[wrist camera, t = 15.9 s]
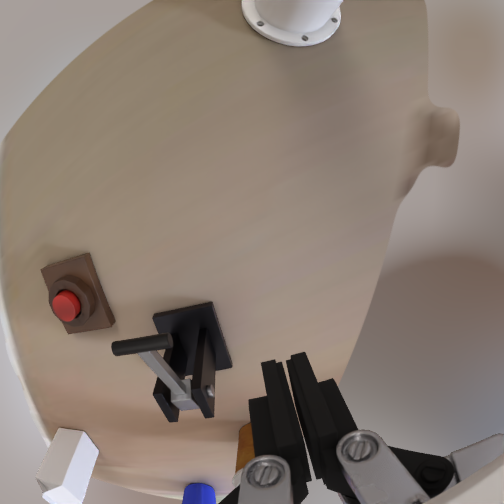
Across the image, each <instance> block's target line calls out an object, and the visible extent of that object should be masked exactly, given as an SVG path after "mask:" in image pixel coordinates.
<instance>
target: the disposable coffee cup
mask: <svg viewBox="0 0 504 504" xmlns="http://www.w3.org/2000/svg"><path fill="white" fill-rule="evenodd" d="M254 458H255V455H254V446H253V438H252V429H251V423H249V424H247V425H245V426H243V427H242V428H241V429H240V432H239V442H238V452H237V462H236V472H235V475H234V477H233V480H232V483H233V485H234V486H235V487H237V486H238V485H239V484H240V482H241V474H242V470H243V468H244V467H245V465H246V464H247V463H248V462H249V461H250V460H252V459H254Z"/></svg>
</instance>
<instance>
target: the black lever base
mask: <svg viewBox="0 0 504 504" xmlns="http://www.w3.org/2000/svg"><path fill="white" fill-rule="evenodd" d="M152 319H153V321H154V324H155V326H156V328H157V331H158V333H159V334H162V333H170V334H171V336H172V339H173V347H172V348H168V349H165V353H164V357H163V359H164V360H165V362H166V363H167V364H168V365H169V366H170V368H171V369H172V370H173V371H174V372H175V374H176V375H177V376H178V377H179V378H180V380H183V379H185V376H188V375H193V377H192V384H191V391H192V393H193V395H194V397H195V399H196V401H197V403H198V405H199V407H200V409H201V411H202V413H203V415H204V417H205V418H212V417H214V401H215V371H217V370H223V369H228V368H232V361H231V358H230V355H229V352H228V349H227V346H226V343H225V340H224V337H223V334H222V330H221V327H220V324H219V321H218V318H217V315H216V312H215V308H214V305H213V302H208V303H203V304H199V305H194V306H190V307H185V308H180V309H175V310H171V311H166V312H161V313H156V314H154V315H153V318H152ZM153 396H154V398H155V399H156V401H157V403H158V405H159V406H160V408H161V410H162V411H163V413H164V415H165V416H166V418H167V419H168V421H169V422H178V417H179V410H180V409H179V408H178V407H176V406H175V405H174V404H173V403H172V402H171V389H170V388H169V387H168V386H167V385H166V384H165V383H164V382H163V381H162V380H161V379H160V378H159V377H157V381H156V384H155V388H154V391H153Z"/></svg>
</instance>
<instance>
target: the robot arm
mask: <svg viewBox="0 0 504 504" xmlns="http://www.w3.org/2000/svg"><path fill="white" fill-rule="evenodd" d="M342 2H343V0H242V2H241V5H242V12H243V15H244V17H245V19H246V20H247V22H248V23H249V24H250V26H251V27H252V28H253V29H254V30H256V31H257V32H258V33H259V34H261V35H263V36H264V37H266V38H268V39H270V40H273V41H275V42H278V43H281V44H285V45H291V46H310V45H315V44H318V43H321V42H323V41H325V40H326V39H328V38H329V37H330V36H331V35H332V34H333V33H334V32H335V31H336V29H337V28H338V26H339V24H340V19H341V13H340V8H339V5H340V4H341V3H342ZM261 26H262V27H261ZM302 39H303V40H305V41H303V40H302ZM286 363H287V368H288V373H289V377H290V382H291V387H292V392H293V397H294V401H295V406H296V410H297V414H298V417H297V414H296V410H295V407H294V403H293V400H292V396H291V393H290V389H289V386H288V382H287V379H286V375H285V372H284V368H283V365H282V362H278V363H276V361H275V360H270V361H266V362H262V363H261V366H262V371H263V377H264V382H265V388H266V393H267V396H264V397H259V398H254V399H249V411H250V420H251V429H252V438H253V446H254V455H255V458H254V459H252V460H250V461H249V462H248V463H247V464H246V465H245V467H244V468H243V470H242V474H241V482H240V484H239V485H238V486H237V487H236V488H235V489H234V490H233V491H232V492H231V493H230V494H229V495H227V496H226V497H225V498H224V499H223V500H222V501H221V502H220V503H219V504H301V502H302V501H303V500H304V499H305V498H306V496H307V495H308V488H307V485H306V482H309V481H312V479H311V474H310V469H309V464H308V459H307V453H306V448H305V443H304V440H303V435H304V438H305V442H306V445H307V449H308V452H309V455H310V459H311V462H312V466H313V470H314V473H315V476H316V479H321V478H322V479H323V482H324V484H326V486H327V489H330V490H332V491H335V492H337V493H338V495H339V497H340V499H341V501H342V502H343V504H504V434H495V435H492V436H491V437H488V438H486V439H484V440H481V441H479V442H477V443H474V444H472V445H469V446H467V447H464V448H462V449H459V450H456V451H454V452H451V454H450V455H448V456H445V457H441V456H436V455H430V454H424V453H419V452H413V451H408V450H404V449H399V448H394V447H390V446H387V444H386V443H385V442H384V441H383V439H382V438H381V437H380V436H379V435H378V434H377V433H375V432H372V431H370V430H358V428H357V426H356V424H355V422H354V420H353V418H352V415H351V413H350V411H349V409H348V407H347V405H346V403H345V401H344V399H343V397H342V395H341V393H340V391H339V389H338V386H337V384H336V382H335V381H334V379H333V378H332V379H329V380H326V381H322V382H319V383H318V382H317V379H316V377H315V375H314V372H313V370H312V367H311V365H310V363H309V360H308V358H307V355H306V353H305V352H302V353H298V354H294V355H291V359H290V360H286ZM298 418H299V421H300V424H301V428H302V431H303V435H302V431H301V428H300V424H299V421H298Z"/></svg>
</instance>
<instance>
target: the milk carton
mask: <svg viewBox="0 0 504 504" xmlns="http://www.w3.org/2000/svg"><path fill="white" fill-rule="evenodd" d="M98 453H99V450H98V449H97V448H96V446H95V445H94V444H93V442H92V441H91V440H90V438H89V437H88V436H87V434H86V433H85V432H84V431H79V430H72V429H65V428H59V429H58V431H57V432H56V434H55V436H54V439H53V441H52V443H51V445H50V447H49V449H48V451H47V453H46V455H45V458H44V459H43V462H42V464H41V466H40V468H39V470H38V473H37V475H36V479H37V481H38V483H39V485H40V487H41V489H42V491H43V492H42V493H43V495H42V497H43V498H44V499H45V500H46V501H47V502H49V503H50V504H82V503H83V500H84V496H85V493H86V490H87V486H88V483H89V480H90V477H91V474H92V471H93V468H94V465H95V462H96V459H97V456H98Z"/></svg>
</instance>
